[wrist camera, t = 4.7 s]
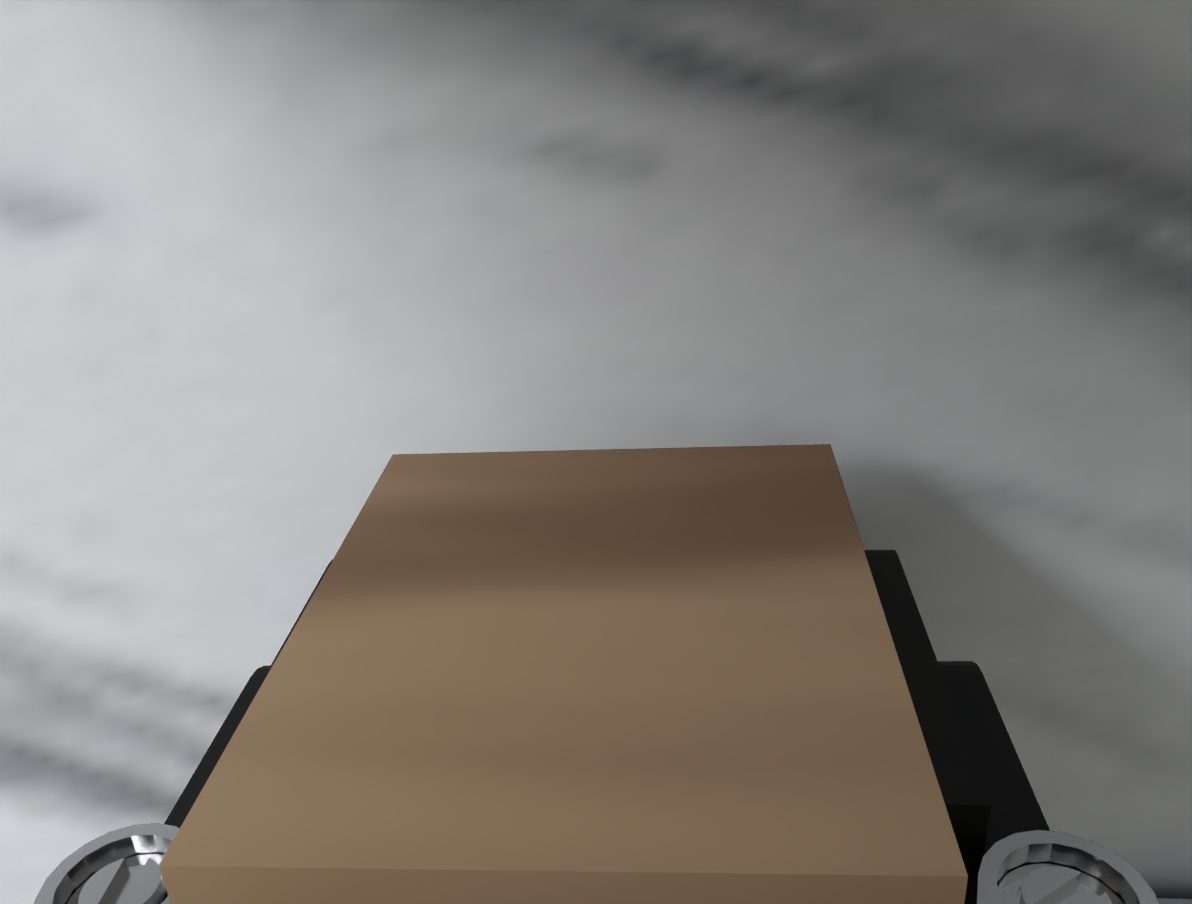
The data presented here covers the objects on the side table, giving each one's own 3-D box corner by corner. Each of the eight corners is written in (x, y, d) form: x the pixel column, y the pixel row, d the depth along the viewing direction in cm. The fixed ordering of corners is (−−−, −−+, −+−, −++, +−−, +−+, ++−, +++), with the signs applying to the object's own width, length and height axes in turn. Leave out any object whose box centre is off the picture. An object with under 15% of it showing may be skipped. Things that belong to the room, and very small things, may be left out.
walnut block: (393, 454, 12) (158, 866, 6) (830, 443, 11) (968, 876, 6) (445, 782, 14) (302, 1296, 9) (815, 784, 14) (906, 1328, 8)
